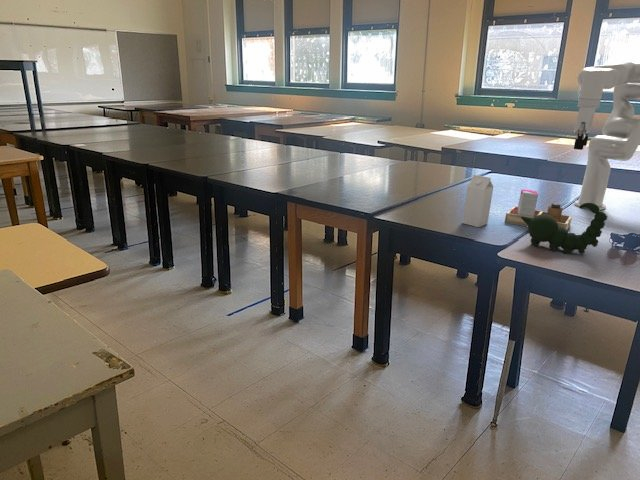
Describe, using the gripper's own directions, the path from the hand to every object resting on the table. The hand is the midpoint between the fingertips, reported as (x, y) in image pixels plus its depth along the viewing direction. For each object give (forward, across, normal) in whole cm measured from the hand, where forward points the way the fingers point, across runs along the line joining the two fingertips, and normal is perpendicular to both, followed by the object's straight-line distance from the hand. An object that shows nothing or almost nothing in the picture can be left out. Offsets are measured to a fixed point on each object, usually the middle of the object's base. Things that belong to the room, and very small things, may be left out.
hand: (580, 147), depth 193 cm
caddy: (+28, +21, -7) cm, 36 cm away
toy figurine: (+27, +47, +4) cm, 54 cm away
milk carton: (+27, +37, -27) cm, 54 cm away
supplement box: (+27, +20, -12) cm, 36 cm away
